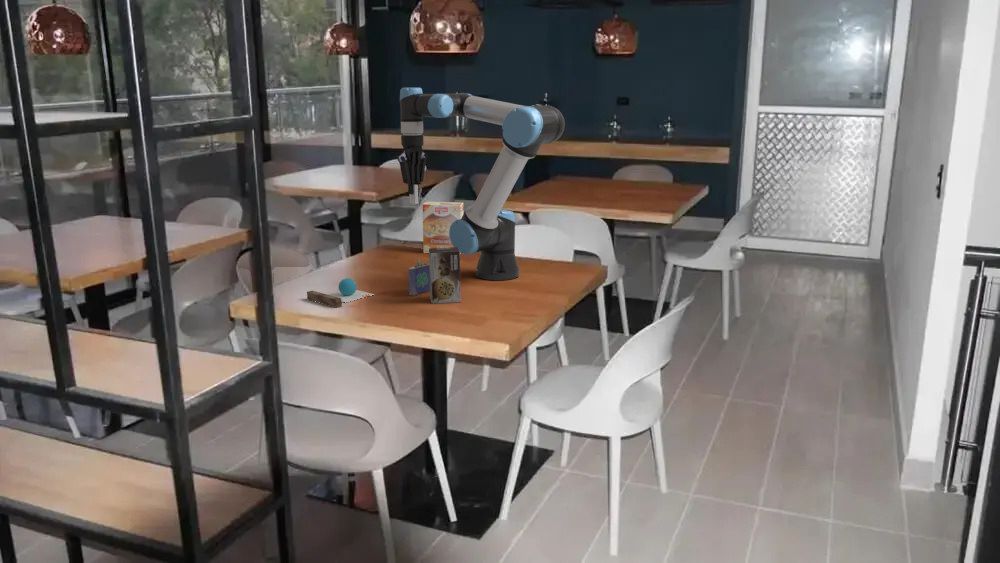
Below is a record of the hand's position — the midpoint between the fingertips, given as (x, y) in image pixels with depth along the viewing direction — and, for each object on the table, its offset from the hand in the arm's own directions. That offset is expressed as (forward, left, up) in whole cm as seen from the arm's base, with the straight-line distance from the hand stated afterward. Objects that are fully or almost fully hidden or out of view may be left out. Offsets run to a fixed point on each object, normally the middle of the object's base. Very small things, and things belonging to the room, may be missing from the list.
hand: (413, 203), depth 281 cm
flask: (-22, +20, -25) cm, 38 cm away
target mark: (-7, +37, -24) cm, 44 cm away
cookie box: (-34, +21, -25) cm, 46 cm away
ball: (-6, +36, -22) cm, 43 cm away
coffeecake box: (+14, -29, -25) cm, 41 cm away
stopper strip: (-8, +47, -24) cm, 53 cm away
